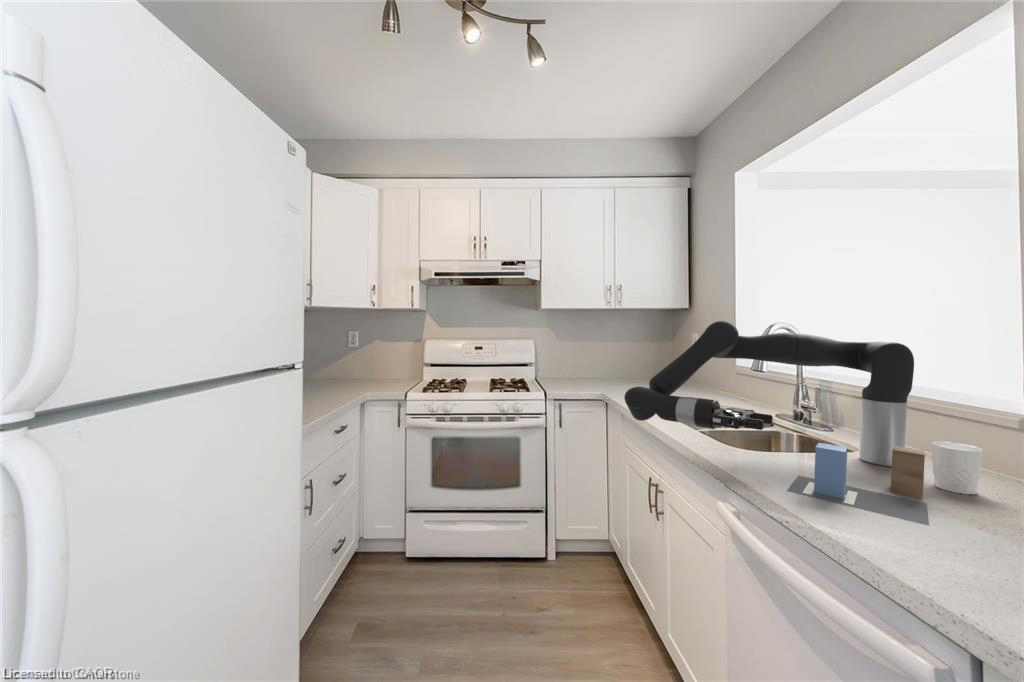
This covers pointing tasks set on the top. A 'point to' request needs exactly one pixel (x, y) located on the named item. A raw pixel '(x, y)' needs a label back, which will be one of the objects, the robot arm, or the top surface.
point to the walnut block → (907, 471)
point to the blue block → (830, 470)
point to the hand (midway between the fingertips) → (768, 422)
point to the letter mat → (868, 501)
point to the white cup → (956, 467)
